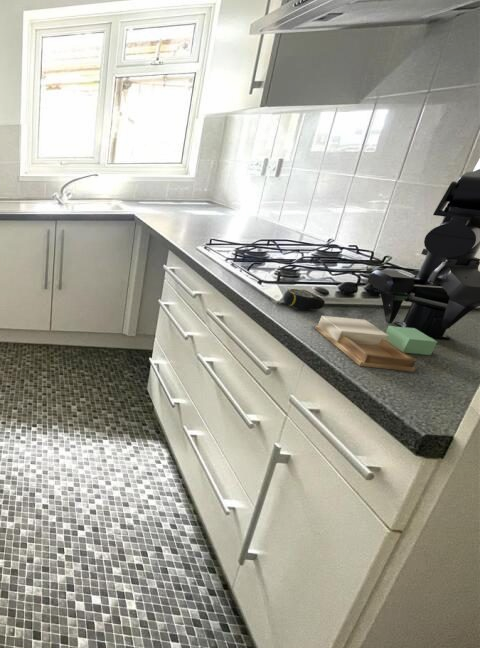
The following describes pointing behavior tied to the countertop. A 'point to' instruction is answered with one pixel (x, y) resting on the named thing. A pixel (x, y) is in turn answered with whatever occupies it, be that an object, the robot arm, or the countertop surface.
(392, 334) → the green rectangular block
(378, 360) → the frame
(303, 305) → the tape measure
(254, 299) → the countertop surface
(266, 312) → the countertop surface
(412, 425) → the countertop surface
